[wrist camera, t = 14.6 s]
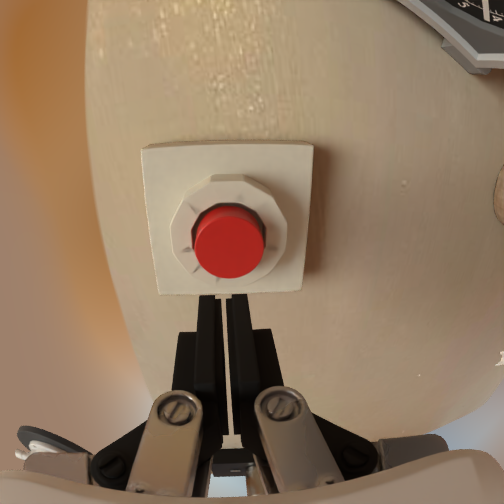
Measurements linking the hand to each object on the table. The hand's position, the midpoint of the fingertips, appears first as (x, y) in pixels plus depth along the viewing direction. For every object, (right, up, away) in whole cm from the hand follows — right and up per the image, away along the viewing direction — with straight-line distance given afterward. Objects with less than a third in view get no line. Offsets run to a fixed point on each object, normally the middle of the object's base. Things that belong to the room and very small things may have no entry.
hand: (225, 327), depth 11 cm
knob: (+2, -29, +24) cm, 38 cm away
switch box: (-1, +5, +10) cm, 11 cm away
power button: (0, +4, +6) cm, 7 cm away
